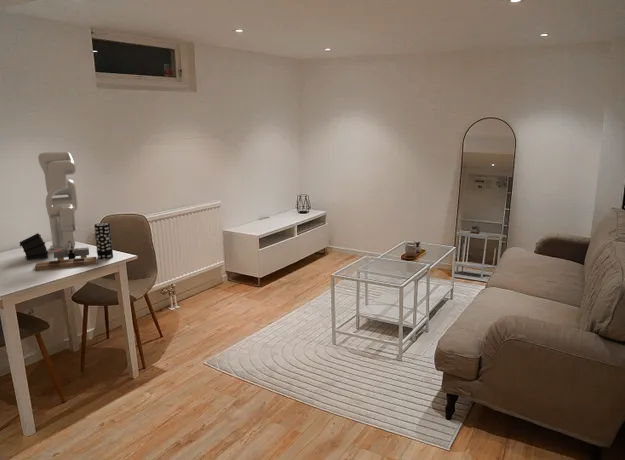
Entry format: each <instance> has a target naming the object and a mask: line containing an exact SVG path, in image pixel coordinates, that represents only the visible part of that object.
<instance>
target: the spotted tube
mask: <svg viewBox="0 0 625 460" xmlns="http://www.w3.org/2000/svg"><path fill="white" fill-rule="evenodd" d="M111 232H112V231H111V224H110V222H99V223H95V224H94V235H95V243H96V244H95V245H96V254H97V260H102V261H103V260H109V259H110V260H111V259H112V258H113V257H114V253H113V251H114V250H113V243H112V233H111Z"/></svg>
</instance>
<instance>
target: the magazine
mask: <svg viewBox="0 0 625 460" xmlns="http://www.w3.org/2000/svg"><path fill="white" fill-rule="evenodd" d="M41 236H42V235H41V234H40V233H39V232H37V233H35V234H34V235H31V236H29V237H28V238H25V239H23V240H21V241H20V242H19V246H20V247H21V248H22V249H23V253H25V257H24V258H25V259H26V261H30V260H31V261H32V260H35V261H36V260H47V259H48V258H49V256H48V255H49V251H48V250H47V249H48V248H47V246H46V241H44V240H43V238H42V237H41Z"/></svg>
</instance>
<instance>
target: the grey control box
mask: <svg viewBox="0 0 625 460" xmlns="http://www.w3.org/2000/svg"><path fill="white" fill-rule="evenodd" d="M89 248H90V247H87V246H86V247H78V248H74V254H75V256H76V257H80V258H87V256H89V255H90V249H89ZM65 258H69V257H68V249H60V250H53V259H56V260H65Z"/></svg>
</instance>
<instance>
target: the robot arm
mask: <svg viewBox="0 0 625 460" xmlns="http://www.w3.org/2000/svg"><path fill="white" fill-rule="evenodd" d="M37 156H38V157H37V159H38V164H39V166H40V169H42V171H43V173H44V180H45V187H46V192H47V194H46V197H45V207H46V212H47V215H48V219H49V220H48V221H49V227H50V228H49V229H50V233H51V243H52V245H50V246H49V249H51V250H53V251H54V250H60V249H62V250H65V249H68V257H67V258H68V259H76V257H77V256H75V254H74V249H75V247H76V236H75V231H77V223H76V215H75V214H76V211H77V210H78V208H79V205H78V199H77V198H78V197H77V189H76V184H75V182H74V180H72V179H67V175H68V176H69V175H74V174H75V173H76V172H77V167H76V166H77V165H76V163H75V161H74V159H73V156H72V154H71V153H70V152H68V151H50V152H49V151H47V152H40V153H39V154H38V155H37ZM54 196H55V197H54ZM56 196H59V197H56ZM60 196H63V197H60Z"/></svg>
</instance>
